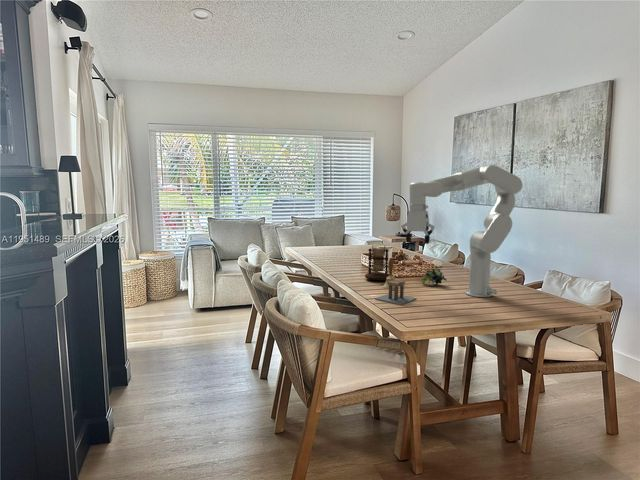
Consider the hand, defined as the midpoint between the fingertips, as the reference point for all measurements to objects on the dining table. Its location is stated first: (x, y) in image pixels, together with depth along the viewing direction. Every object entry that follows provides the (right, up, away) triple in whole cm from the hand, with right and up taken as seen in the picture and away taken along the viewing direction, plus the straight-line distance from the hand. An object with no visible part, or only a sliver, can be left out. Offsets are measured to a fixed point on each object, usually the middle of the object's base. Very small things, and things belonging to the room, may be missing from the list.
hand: (417, 242), depth 204 cm
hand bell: (-11, -24, +17) cm, 31 cm away
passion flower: (+14, -24, +23) cm, 36 cm away
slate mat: (-12, -27, -7) cm, 30 cm away
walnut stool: (-12, -26, -7) cm, 30 cm away
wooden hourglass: (-15, -22, +36) cm, 45 cm away
